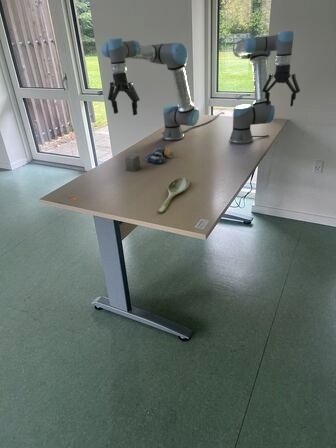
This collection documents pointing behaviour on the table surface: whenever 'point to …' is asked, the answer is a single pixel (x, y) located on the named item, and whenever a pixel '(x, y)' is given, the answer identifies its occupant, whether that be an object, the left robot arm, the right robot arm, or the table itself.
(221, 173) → the table surface
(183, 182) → the spoon
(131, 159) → the grey metal block
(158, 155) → the blue toy gun
